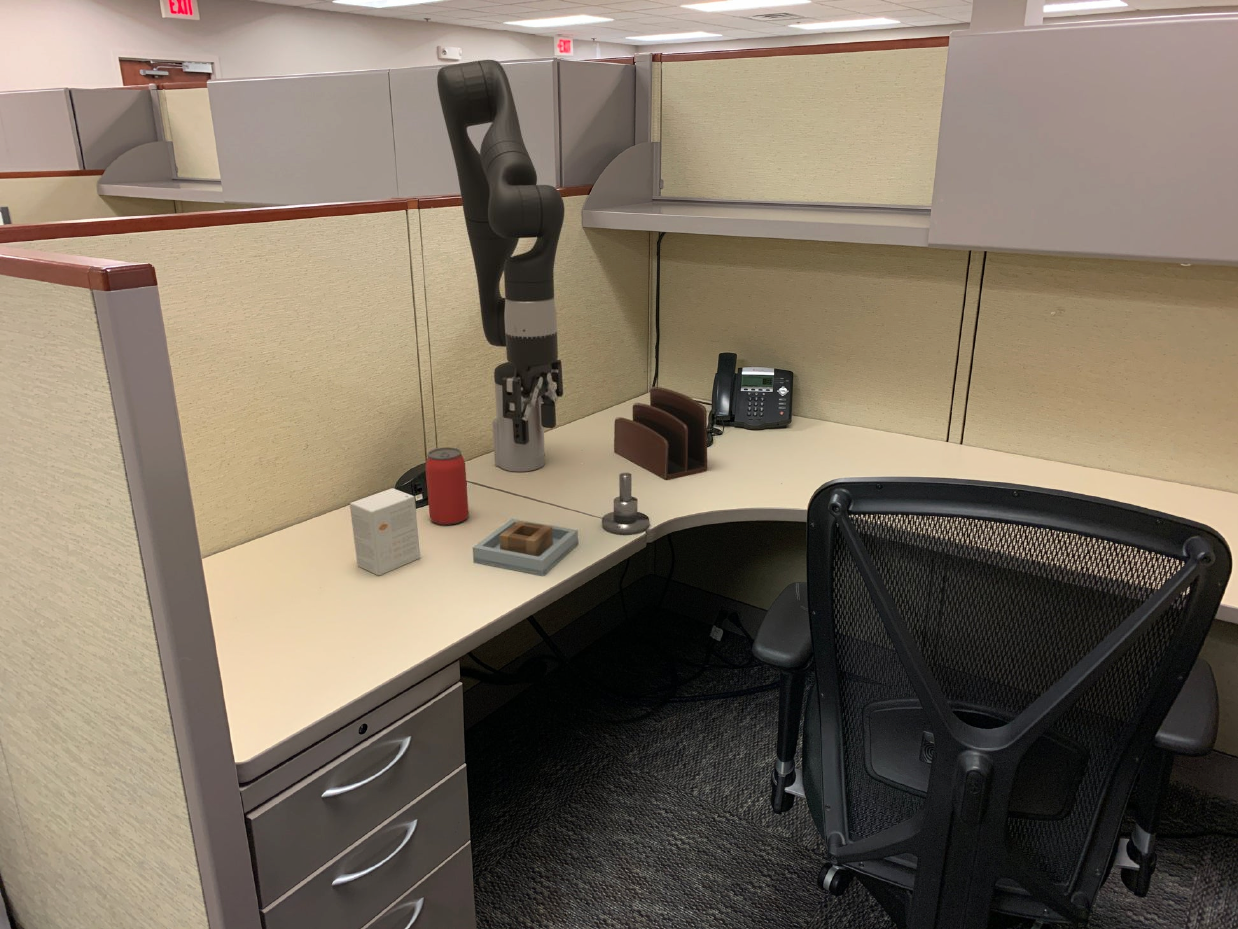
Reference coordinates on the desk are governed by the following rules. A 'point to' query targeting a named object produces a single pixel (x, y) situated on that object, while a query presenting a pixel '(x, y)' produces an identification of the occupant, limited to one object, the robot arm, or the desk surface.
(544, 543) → the wooden block
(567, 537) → the tray
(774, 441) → the desk surface
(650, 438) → the letter holder
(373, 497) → the small box
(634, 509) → the stepped metal shaft
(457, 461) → the beer can
